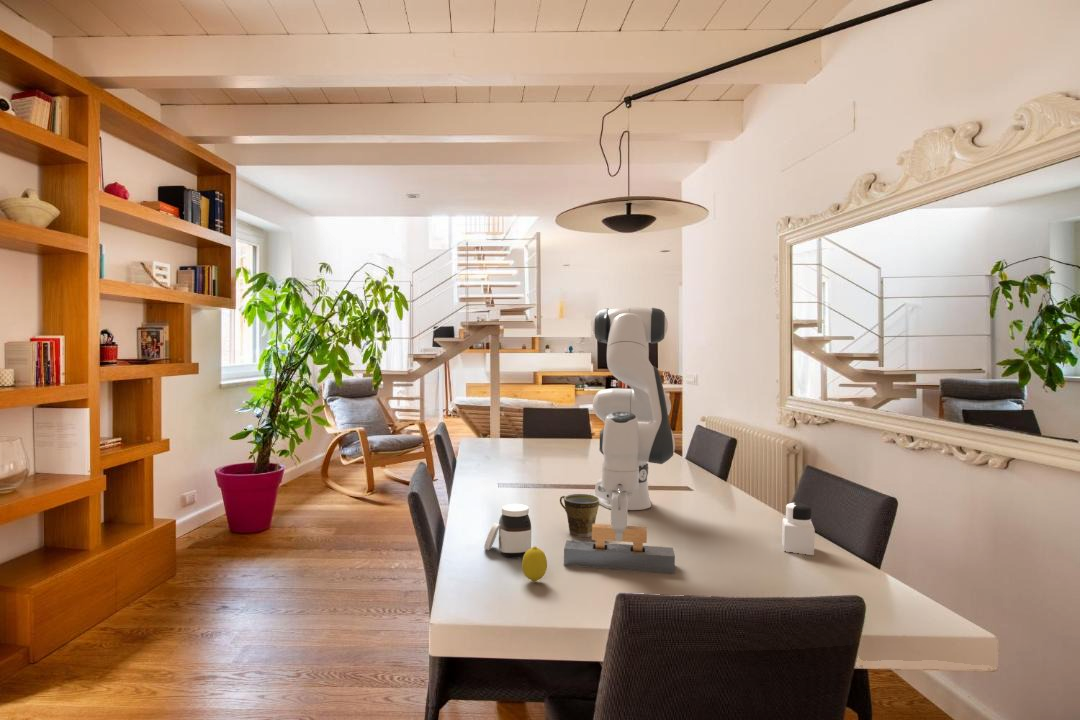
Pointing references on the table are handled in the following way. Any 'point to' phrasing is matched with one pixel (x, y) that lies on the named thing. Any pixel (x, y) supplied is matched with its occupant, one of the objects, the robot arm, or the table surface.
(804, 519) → the medicine bottle
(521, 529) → the spread jar
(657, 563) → the rail
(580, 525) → the ceramic cup
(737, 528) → the table surface
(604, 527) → the wooden arch block
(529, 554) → the lemon
